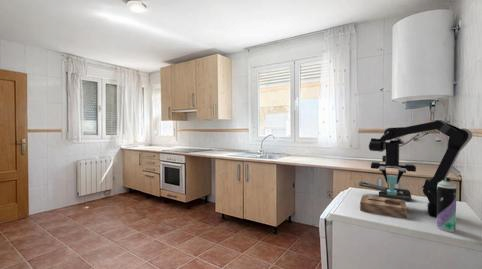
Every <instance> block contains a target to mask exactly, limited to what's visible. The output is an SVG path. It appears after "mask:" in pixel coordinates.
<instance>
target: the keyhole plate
mask: <svg viewBox="0 0 482 269" xmlns="http://www.w3.org/2000/svg"><path fill="white" fill-rule="evenodd" d="M359 203H360V204H359V205H360V206H359V210H360V211H362V212H368V213H373V214H380V215H387V216H391V217H399V218H405V219H407V218H408V207H407V203H406V201H405V200H399V199H391V198H384V197H379V196H377V195H376V196H374V195H368V194H367V195H366V194H362V196H361V199H360V202H359Z"/></svg>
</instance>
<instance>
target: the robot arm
mask: <svg viewBox="0 0 482 269" xmlns="http://www.w3.org/2000/svg"><path fill="white" fill-rule="evenodd" d="M435 130H436V131H439V132H440V133H442V134H443V135H445V136H447V137H448V140H447V148H446V151H445V153H444V155H443V157H442V159H441V161H440V163H439V165H438V167H437V169H436V171H435V173H434V175H433V177H429V178H426V179H425V182H424V184H423V186H421V188H423V189H422V193H423V195H424V196H425V197H426V199H427V201H428V202H427V210H426V212H427V213H428V214H429V216H430V217H435V218H437V184H438V182H441V181H442V180H443V179H444V177H446V178H448V176H449V174H450V172H451V170H452V168H453V166H454V164H455V162H456V160H457V158H458V156H459V155H460V152H461V151H462V150H463V149H464V148H465V147H466V146H467V144H469V142H471V140H472V138H473V133H472V131H470V129H467V128H460V127H458V126H455V125H453V124H450V123H448V122H446V121H444V120H442V119H438V120H434V121H430V122H425V123H420V124H414V125H409V126H400V127H388V128H385V130H384V132H383V135H382V136H381V137H379V138H376V137H374V138H373V137H372V138H370V141H369V144H368V149H369V151H370V152H380V153H381V152H384V151H385V155H382V156H381V157H382V161H381V162H382V163H380V161H371V162H370V169H373V170H374V169H375V170H378V172H379V171H380V172H381V173H382V175H383V178H384V179H385V183H386V184H388V183H387V175H388V174H387V173H388V172H387V169H398V170H397V171H398V172H397V175H396V176H397V184H396V185H399V182H400V180H401V177H402V176H403V175H404V174H406V173H407V172H417V166H416V165H415V164H414V163H405V164H404V165H403V164H400V145H403V144H405V142H404V141H403V140H402V139H401V138H403V137H406V136H408V135H412V134H418V133H423V132H424V133H426V132H429V131H430V132H431V131H435ZM396 139H397V140H396Z"/></svg>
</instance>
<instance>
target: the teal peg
mask: <svg viewBox="0 0 482 269" xmlns="http://www.w3.org/2000/svg"><path fill="white" fill-rule="evenodd" d="M397 176H398V175H393V174H392V175H391V174H387V183H386V184H389V188H390V190H388V189H387V194H389V195H397V190H394V188H395V185H398V184H397Z"/></svg>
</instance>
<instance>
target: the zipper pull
mask: <svg viewBox="0 0 482 269" xmlns="http://www.w3.org/2000/svg"><path fill="white" fill-rule="evenodd" d="M358 186H359V187H363V188H368V189H372V190H377V191H378V197H379V196H380V197H384V198H391V199H399V200H405V202H411V201H412V194H411V191H410V190H409V189H407V188H400V187H399V188H398V187H394V190H397V195H389V194H387V189H388V190H390V187H386V186H381V185H377V184H373V183H369V182H365V181H361V180H360V181H359V182H358Z"/></svg>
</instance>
